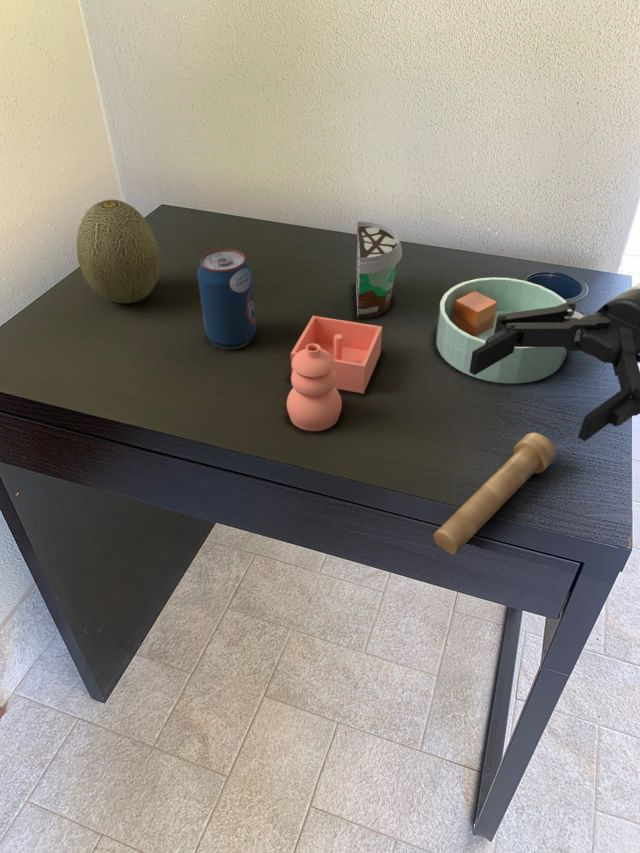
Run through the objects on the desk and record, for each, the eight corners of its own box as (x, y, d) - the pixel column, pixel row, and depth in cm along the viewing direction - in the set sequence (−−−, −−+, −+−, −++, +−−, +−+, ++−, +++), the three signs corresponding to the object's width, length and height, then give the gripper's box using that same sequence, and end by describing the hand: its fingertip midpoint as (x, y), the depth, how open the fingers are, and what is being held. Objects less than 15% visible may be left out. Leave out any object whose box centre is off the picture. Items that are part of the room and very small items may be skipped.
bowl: (591, 349, 92) (602, 314, 88) (509, 401, 84) (517, 365, 80) (491, 298, 102) (497, 265, 98) (409, 340, 94) (413, 305, 90)
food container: (401, 324, 97) (406, 259, 90) (358, 324, 97) (360, 260, 90) (395, 280, 106) (399, 219, 100) (355, 280, 106) (357, 219, 100)
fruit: (97, 325, 98) (71, 226, 88) (83, 288, 105) (58, 194, 95) (175, 307, 101) (158, 210, 91) (156, 273, 109) (139, 180, 99)
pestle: (561, 463, 73) (468, 562, 65) (531, 463, 77) (439, 557, 68) (547, 431, 72) (450, 528, 64) (517, 433, 76) (422, 525, 67)
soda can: (265, 342, 94) (259, 263, 86) (218, 357, 91) (207, 277, 83) (244, 319, 98) (236, 241, 90) (199, 332, 96) (187, 254, 88)
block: (493, 327, 95) (497, 302, 93) (473, 337, 93) (478, 312, 91) (471, 315, 98) (475, 290, 95) (452, 325, 96) (455, 300, 93)
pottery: (313, 341, 94) (312, 277, 87) (380, 353, 92) (384, 288, 85) (267, 424, 81) (261, 356, 75) (344, 439, 79) (345, 371, 72)
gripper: (737, 397, 73) (627, 490, 63) (545, 304, 88) (430, 367, 78) (767, 338, 68) (652, 429, 58) (558, 250, 83) (437, 310, 73)
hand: (525, 394), depth 68 cm, fingers open, 13 cm apart
